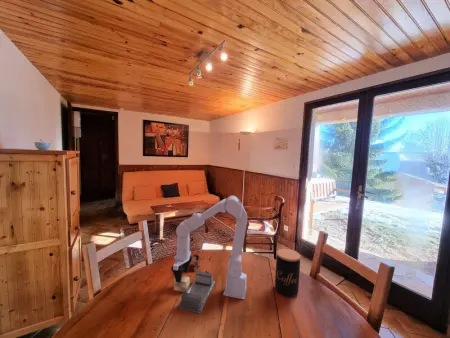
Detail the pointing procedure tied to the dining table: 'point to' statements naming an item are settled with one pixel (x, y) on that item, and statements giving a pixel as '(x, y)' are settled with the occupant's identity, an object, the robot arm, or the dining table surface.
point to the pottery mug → (194, 262)
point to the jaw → (204, 277)
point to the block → (182, 284)
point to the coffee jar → (287, 272)
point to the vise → (195, 297)
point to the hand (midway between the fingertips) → (182, 276)
